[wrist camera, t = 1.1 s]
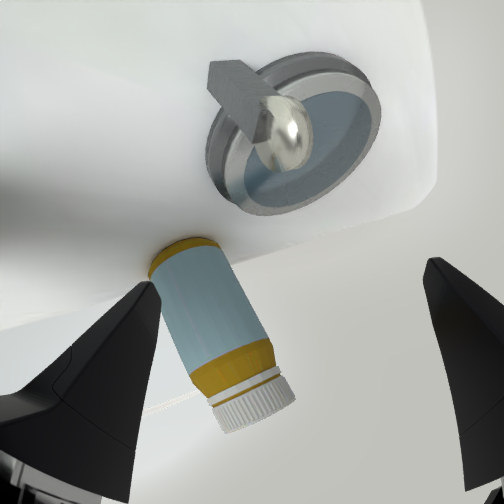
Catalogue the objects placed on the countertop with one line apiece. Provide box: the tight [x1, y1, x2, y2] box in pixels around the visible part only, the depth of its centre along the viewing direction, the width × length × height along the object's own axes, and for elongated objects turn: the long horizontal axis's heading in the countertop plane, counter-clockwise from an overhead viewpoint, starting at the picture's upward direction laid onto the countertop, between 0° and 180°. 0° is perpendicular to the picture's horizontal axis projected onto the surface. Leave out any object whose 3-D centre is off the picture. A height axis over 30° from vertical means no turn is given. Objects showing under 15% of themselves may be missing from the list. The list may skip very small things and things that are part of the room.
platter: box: [221, 68, 381, 216], centre depth 19 cm, size 12×12×1 cm
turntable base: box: [206, 52, 372, 204], centre depth 18 cm, size 13×13×7 cm
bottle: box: [148, 238, 295, 433], centre depth 23 cm, size 7×7×15 cm
